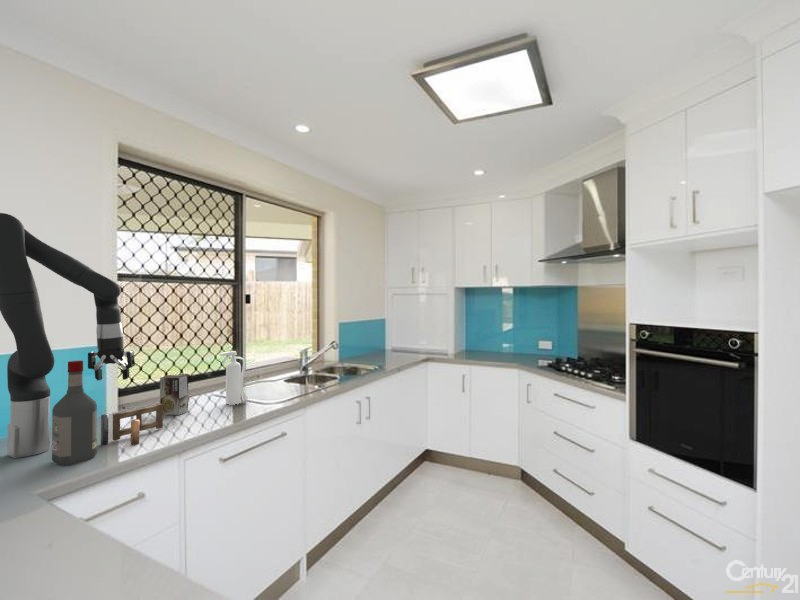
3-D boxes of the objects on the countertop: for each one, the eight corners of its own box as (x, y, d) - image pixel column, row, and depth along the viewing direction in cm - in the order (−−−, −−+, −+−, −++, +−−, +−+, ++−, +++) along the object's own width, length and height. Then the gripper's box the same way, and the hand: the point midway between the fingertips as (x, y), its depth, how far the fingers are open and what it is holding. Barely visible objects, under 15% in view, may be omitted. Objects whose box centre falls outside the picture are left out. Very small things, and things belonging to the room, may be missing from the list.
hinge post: (102, 445, 129) (102, 415, 129) (99, 444, 130) (99, 414, 130) (109, 443, 130) (109, 414, 130) (106, 442, 131) (106, 413, 131)
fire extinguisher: (248, 403, 182) (247, 350, 182) (220, 406, 178) (219, 352, 178) (249, 400, 188) (248, 349, 189) (222, 403, 184) (221, 351, 185)
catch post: (132, 445, 129) (133, 421, 129) (129, 444, 130) (129, 420, 130) (140, 443, 131) (140, 420, 131) (137, 442, 132) (137, 418, 132)
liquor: (62, 468, 111) (63, 364, 111) (49, 461, 116) (50, 362, 116) (99, 457, 119) (100, 360, 119) (85, 451, 124) (86, 358, 124)
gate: (114, 440, 132) (114, 414, 132) (112, 439, 133) (112, 413, 133) (162, 427, 145) (162, 404, 145) (160, 427, 146) (160, 403, 146)
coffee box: (188, 411, 169) (189, 374, 169) (179, 415, 163) (179, 377, 163) (169, 410, 170) (169, 374, 170) (159, 414, 164) (159, 377, 164)
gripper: (80, 338, 133) (84, 383, 135) (126, 337, 136) (128, 381, 137) (94, 334, 141) (97, 377, 142) (136, 333, 143) (139, 375, 144)
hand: (112, 379), depth 140 cm, fingers open, 8 cm apart
